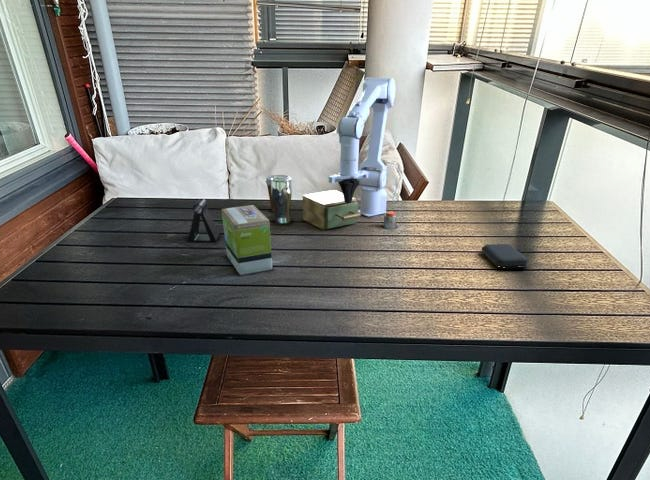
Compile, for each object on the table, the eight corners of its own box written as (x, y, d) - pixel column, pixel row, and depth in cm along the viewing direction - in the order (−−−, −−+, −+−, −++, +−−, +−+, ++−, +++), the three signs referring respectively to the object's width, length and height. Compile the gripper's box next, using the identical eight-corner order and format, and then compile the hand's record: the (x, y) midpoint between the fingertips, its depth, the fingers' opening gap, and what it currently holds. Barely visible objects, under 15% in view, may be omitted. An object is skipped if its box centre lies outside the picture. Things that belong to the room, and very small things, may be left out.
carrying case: (533, 270, 138) (511, 251, 150) (536, 260, 136) (514, 241, 149) (497, 271, 137) (478, 252, 150) (499, 261, 136) (480, 242, 148)
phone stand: (188, 241, 157) (182, 203, 150) (193, 235, 162) (187, 198, 155) (216, 241, 156) (211, 204, 150) (219, 235, 161) (215, 198, 155)
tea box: (225, 257, 146) (220, 207, 137) (257, 252, 149) (254, 203, 141) (239, 276, 134) (234, 223, 126) (273, 270, 137) (270, 218, 129)
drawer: (366, 226, 167) (367, 206, 163) (336, 233, 161) (337, 212, 157) (337, 213, 179) (337, 194, 175) (308, 218, 174) (308, 199, 170)
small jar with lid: (390, 224, 172) (391, 210, 169) (398, 227, 169) (399, 213, 166) (381, 226, 170) (382, 211, 167) (388, 229, 167) (389, 215, 164)
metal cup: (264, 213, 182) (262, 180, 175) (270, 206, 190) (269, 174, 183) (289, 214, 180) (288, 181, 174) (294, 207, 188) (293, 175, 182)
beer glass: (270, 220, 175) (267, 177, 166) (288, 218, 177) (286, 175, 169) (277, 226, 169) (275, 181, 161) (295, 223, 172) (294, 179, 164)
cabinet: (355, 223, 173) (356, 198, 168) (323, 229, 166) (323, 204, 162) (333, 213, 182) (334, 189, 177) (302, 219, 176) (302, 195, 171)
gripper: (337, 164, 148) (336, 208, 155) (375, 158, 154) (372, 202, 162) (325, 160, 153) (324, 203, 160) (361, 155, 159) (359, 197, 167)
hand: (347, 202), depth 161 cm, fingers closed
